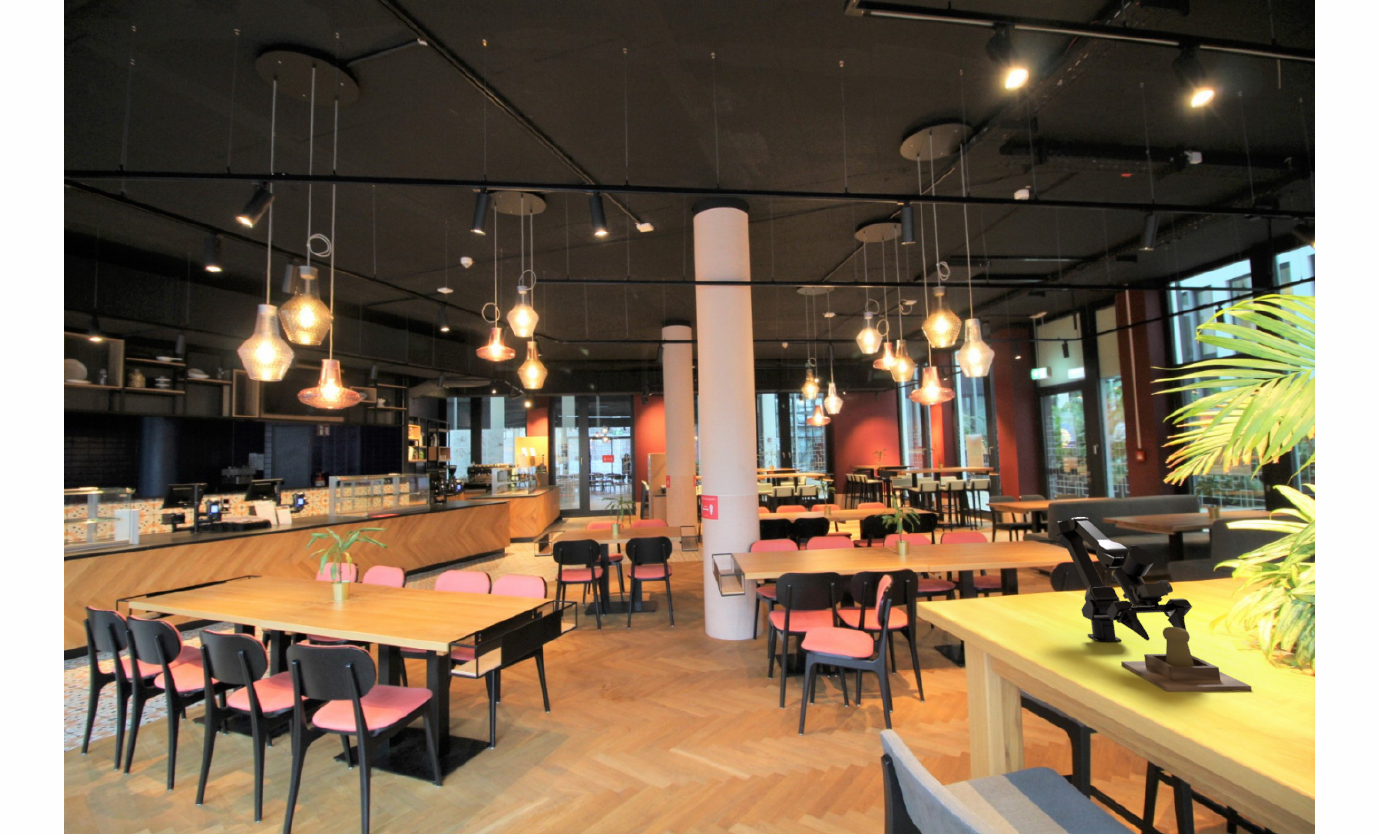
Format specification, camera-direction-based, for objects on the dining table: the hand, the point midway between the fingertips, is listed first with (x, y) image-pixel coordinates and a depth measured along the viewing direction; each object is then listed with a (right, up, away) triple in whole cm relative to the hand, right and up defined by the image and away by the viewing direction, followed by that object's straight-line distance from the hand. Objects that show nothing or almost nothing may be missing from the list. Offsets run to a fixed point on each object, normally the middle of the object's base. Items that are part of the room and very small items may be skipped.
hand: (1167, 639), depth 149 cm
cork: (0, -7, -4) cm, 8 cm away
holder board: (0, -8, -4) cm, 9 cm away
